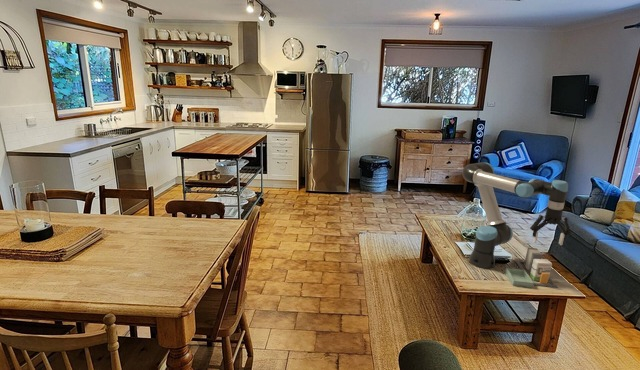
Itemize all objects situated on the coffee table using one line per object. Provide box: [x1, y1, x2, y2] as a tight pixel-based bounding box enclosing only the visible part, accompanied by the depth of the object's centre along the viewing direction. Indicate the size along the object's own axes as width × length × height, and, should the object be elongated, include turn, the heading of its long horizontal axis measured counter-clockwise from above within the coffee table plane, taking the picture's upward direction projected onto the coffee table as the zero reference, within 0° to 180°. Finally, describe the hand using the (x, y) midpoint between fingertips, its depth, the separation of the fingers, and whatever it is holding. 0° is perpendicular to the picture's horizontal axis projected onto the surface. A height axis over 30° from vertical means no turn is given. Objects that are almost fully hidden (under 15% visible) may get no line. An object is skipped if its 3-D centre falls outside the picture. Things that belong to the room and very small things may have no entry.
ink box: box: [529, 258, 553, 282], centre depth 212 cm, size 9×5×12 cm, turn 89°
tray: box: [504, 267, 535, 288], centre depth 212 cm, size 11×15×3 cm
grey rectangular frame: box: [514, 257, 558, 288], centre depth 218 cm, size 14×28×7 cm, turn 170°
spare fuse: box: [523, 247, 543, 273], centre depth 223 cm, size 5×9×12 cm, turn 170°
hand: (547, 243), depth 207 cm, fingers open, 13 cm apart
